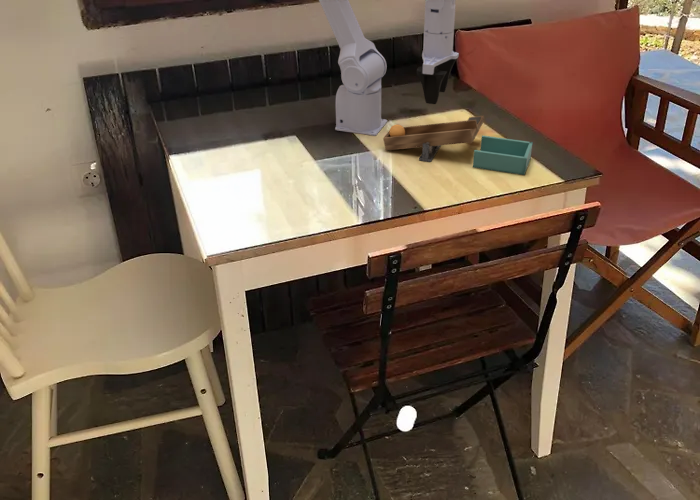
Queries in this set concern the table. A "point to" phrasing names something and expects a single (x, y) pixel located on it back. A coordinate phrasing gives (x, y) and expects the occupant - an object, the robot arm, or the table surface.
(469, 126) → the lever
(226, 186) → the table surface
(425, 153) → the fulcrum
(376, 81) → the robot arm
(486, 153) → the teal open-ended tray
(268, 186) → the table surface
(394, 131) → the ball
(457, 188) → the table surface
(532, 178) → the table surface
